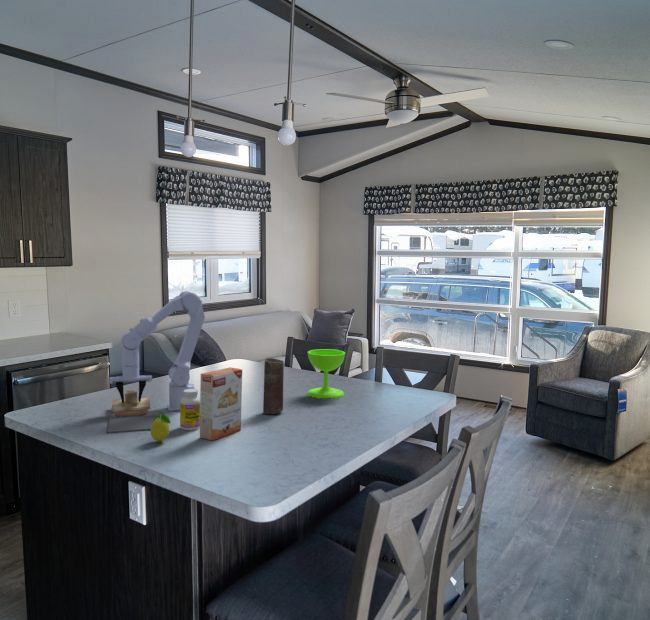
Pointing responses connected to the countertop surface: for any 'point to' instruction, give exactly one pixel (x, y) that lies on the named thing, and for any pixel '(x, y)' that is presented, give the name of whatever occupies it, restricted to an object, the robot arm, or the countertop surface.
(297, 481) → the countertop surface
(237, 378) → the cracker box
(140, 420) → the charcoal mat
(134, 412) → the terracotta dish
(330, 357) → the wineglass
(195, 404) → the supplement bottle
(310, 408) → the countertop surface
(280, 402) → the candle
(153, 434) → the lemon
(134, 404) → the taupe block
